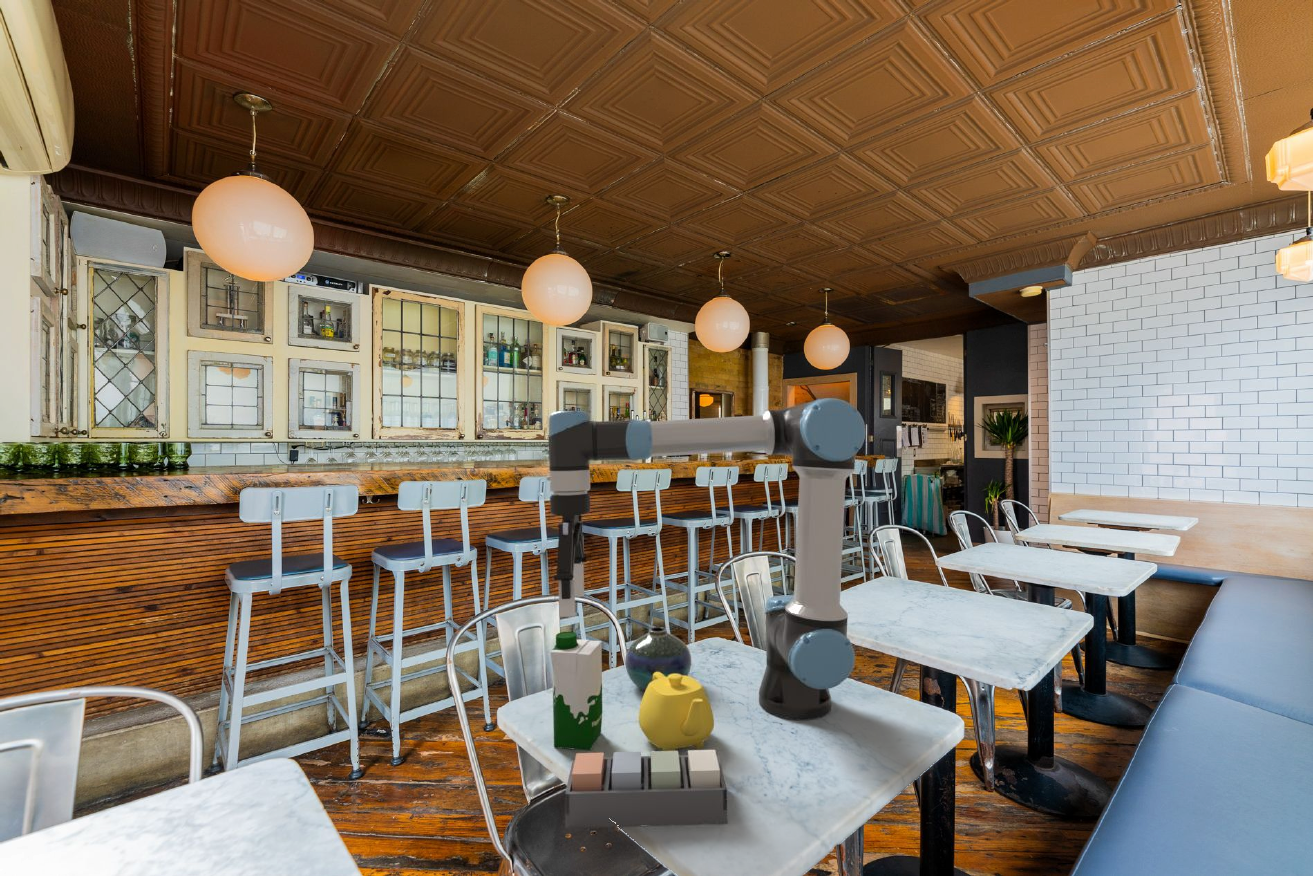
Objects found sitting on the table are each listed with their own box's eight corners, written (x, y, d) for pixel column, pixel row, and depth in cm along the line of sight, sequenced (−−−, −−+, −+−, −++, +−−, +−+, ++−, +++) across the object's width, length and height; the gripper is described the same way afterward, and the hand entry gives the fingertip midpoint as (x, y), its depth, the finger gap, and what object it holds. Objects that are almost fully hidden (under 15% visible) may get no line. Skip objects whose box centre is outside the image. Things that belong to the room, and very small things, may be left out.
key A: (715, 768, 95) (715, 749, 95) (720, 790, 89) (719, 770, 89) (688, 769, 95) (687, 750, 95) (691, 791, 89) (690, 771, 89)
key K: (641, 770, 95) (640, 751, 95) (641, 792, 89) (640, 772, 89) (614, 771, 95) (613, 752, 95) (611, 793, 89) (611, 773, 89)
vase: (693, 700, 129) (692, 639, 130) (623, 701, 130) (622, 640, 130) (690, 673, 145) (689, 619, 145) (627, 674, 145) (627, 619, 145)
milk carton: (564, 727, 118) (562, 627, 118) (607, 731, 116) (606, 629, 116) (547, 749, 109) (545, 641, 110) (594, 754, 108) (592, 644, 108)
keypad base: (719, 784, 97) (718, 754, 97) (727, 823, 87) (727, 789, 87) (573, 788, 97) (573, 758, 97) (565, 828, 87) (564, 794, 87)
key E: (604, 771, 95) (603, 752, 95) (601, 793, 89) (601, 773, 89) (576, 772, 95) (576, 753, 95) (572, 794, 89) (571, 774, 89)
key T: (678, 769, 95) (678, 750, 95) (680, 791, 89) (680, 771, 89) (651, 770, 95) (650, 751, 95) (651, 792, 89) (651, 772, 89)
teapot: (668, 779, 99) (667, 705, 100) (625, 727, 118) (624, 665, 118) (736, 760, 105) (735, 690, 105) (685, 714, 123) (684, 654, 123)
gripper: (560, 488, 124) (562, 589, 123) (537, 499, 99) (539, 626, 98) (596, 487, 124) (598, 588, 123) (582, 498, 99) (584, 625, 99)
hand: (572, 605), depth 111 cm, fingers open, 13 cm apart
